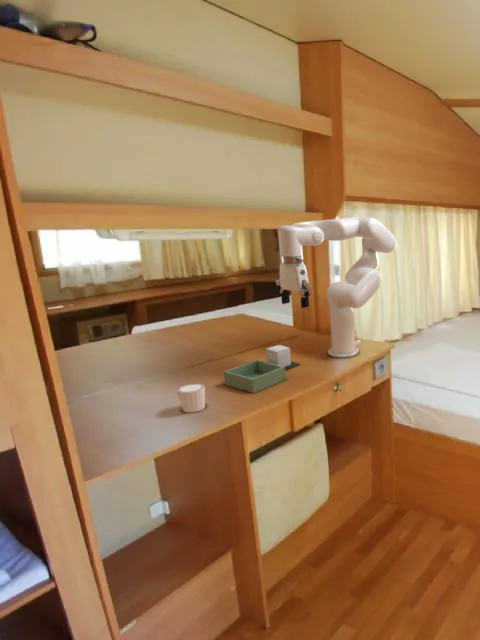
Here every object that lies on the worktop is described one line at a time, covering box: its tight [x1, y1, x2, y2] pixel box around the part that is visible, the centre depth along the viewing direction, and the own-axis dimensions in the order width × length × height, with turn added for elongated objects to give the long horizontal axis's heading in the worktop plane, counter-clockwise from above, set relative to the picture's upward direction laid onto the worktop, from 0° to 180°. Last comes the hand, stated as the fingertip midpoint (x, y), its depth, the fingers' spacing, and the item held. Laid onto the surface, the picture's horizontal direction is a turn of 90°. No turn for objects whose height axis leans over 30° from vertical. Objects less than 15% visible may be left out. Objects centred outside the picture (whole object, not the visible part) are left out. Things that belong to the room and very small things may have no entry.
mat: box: [285, 361, 300, 371], centre depth 168 cm, size 10×10×1 cm
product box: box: [265, 344, 292, 367], centre depth 167 cm, size 6×6×7 cm
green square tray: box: [223, 359, 287, 394], centre depth 153 cm, size 14×14×5 cm
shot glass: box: [176, 383, 206, 413], centre depth 131 cm, size 7×7×7 cm
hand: (295, 305), depth 161 cm, fingers open, 9 cm apart
